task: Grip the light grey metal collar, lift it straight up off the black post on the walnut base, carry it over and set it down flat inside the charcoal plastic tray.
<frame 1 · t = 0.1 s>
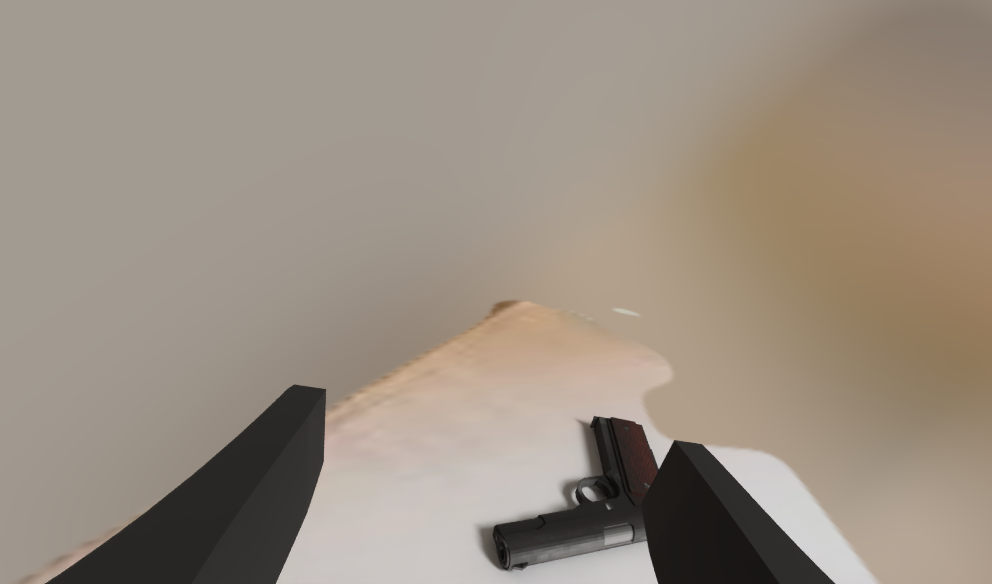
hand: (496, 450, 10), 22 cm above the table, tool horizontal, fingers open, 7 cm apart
handgun: (577, 491, 39), on the table
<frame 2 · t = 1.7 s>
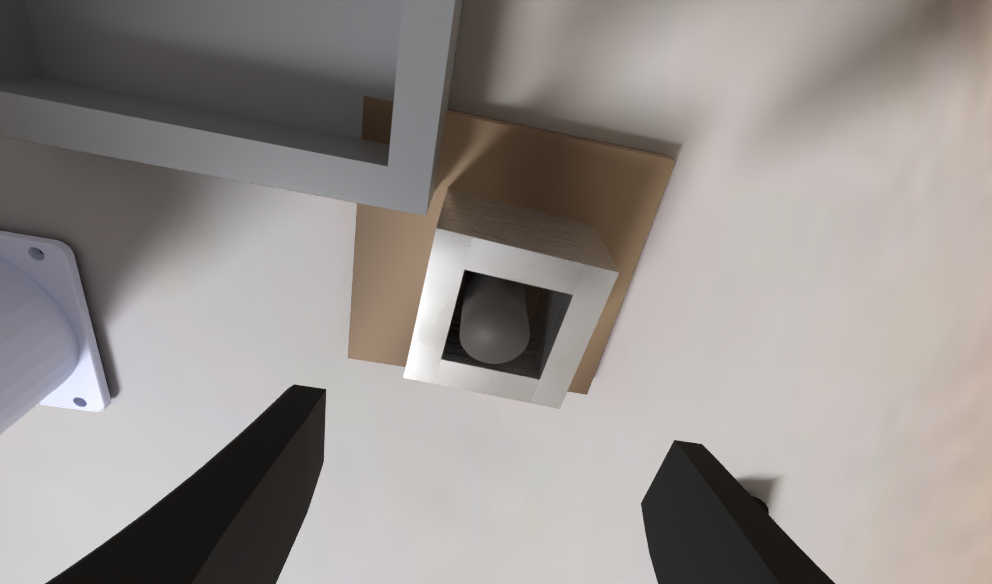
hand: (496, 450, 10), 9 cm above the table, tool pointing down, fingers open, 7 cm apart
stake: (494, 262, 18), on the table
collar: (502, 273, 17), point 1 cm above the table, touching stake
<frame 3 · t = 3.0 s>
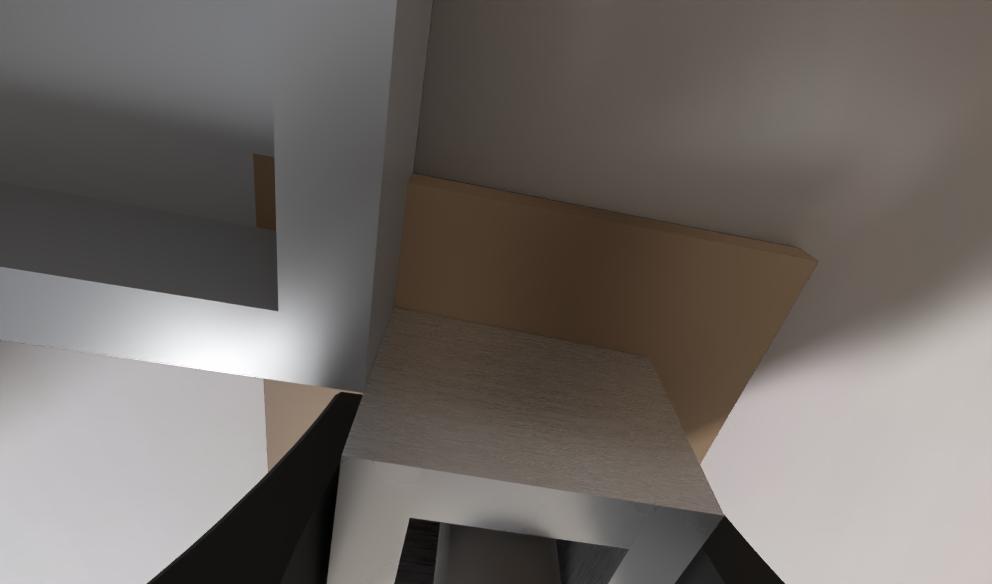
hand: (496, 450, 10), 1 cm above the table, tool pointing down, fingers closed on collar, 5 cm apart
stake: (495, 403, 11), on the table
collar: (494, 427, 11), point 1 cm above the table, touching gripper, tray
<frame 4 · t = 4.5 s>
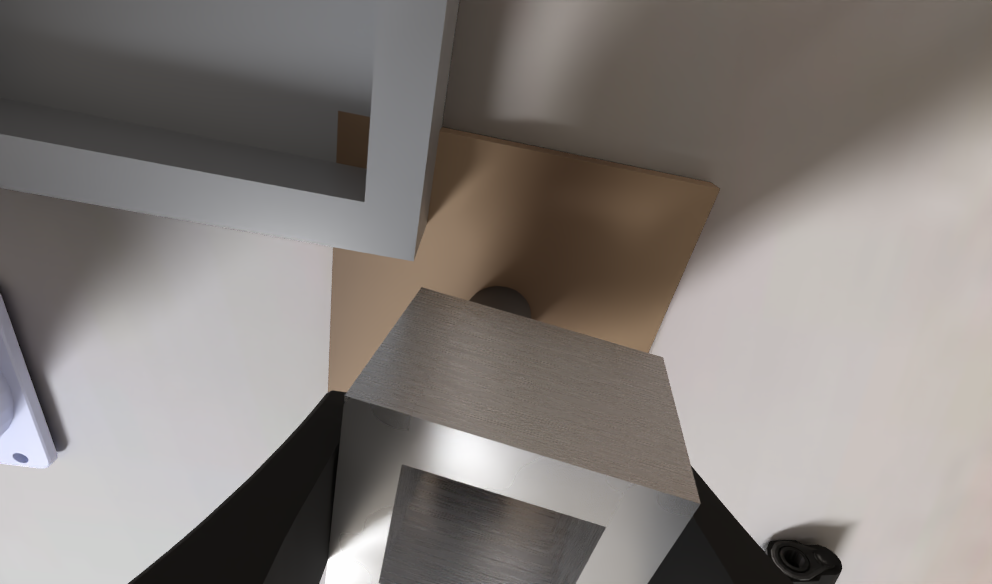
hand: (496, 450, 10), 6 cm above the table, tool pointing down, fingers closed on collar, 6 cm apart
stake: (497, 304, 15), on the table
collar: (510, 413, 11), point 5 cm above the table, tilted 10°, touching gripper
when the fingers open (3 cm above the table, at t = 8.0 s): collar stays where it is, resting on tray.
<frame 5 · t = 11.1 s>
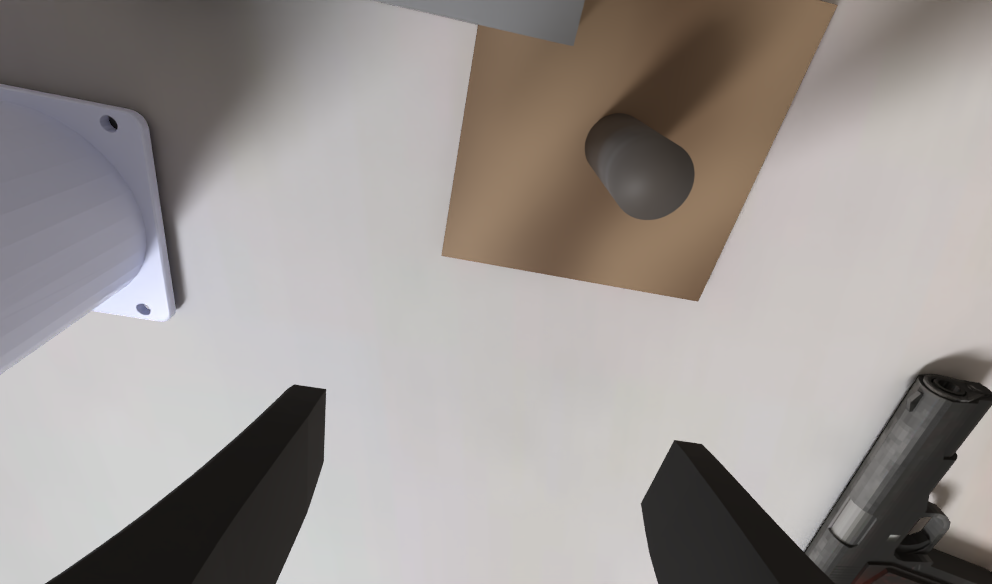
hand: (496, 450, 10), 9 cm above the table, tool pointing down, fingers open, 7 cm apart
handgun: (924, 499, 26), on the table
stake: (611, 141, 16), on the table
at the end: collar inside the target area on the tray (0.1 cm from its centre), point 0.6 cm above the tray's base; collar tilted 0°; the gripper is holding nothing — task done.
